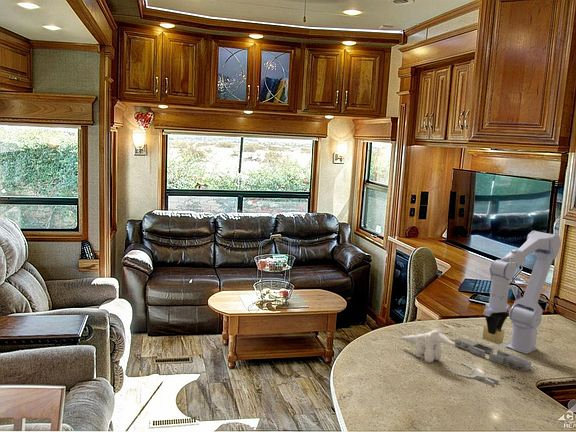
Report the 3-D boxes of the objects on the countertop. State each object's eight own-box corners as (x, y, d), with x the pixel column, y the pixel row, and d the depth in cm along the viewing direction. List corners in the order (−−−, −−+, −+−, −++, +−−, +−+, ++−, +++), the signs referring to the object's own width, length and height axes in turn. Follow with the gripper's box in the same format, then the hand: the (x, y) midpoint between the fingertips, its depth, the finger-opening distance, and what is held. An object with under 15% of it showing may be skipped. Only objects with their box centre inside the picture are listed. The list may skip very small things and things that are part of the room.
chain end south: (462, 342, 194) (463, 336, 194) (492, 353, 185) (493, 347, 185) (453, 346, 190) (453, 339, 190) (483, 357, 181) (484, 351, 181)
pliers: (463, 360, 174) (505, 377, 163) (462, 364, 175) (504, 382, 163) (445, 366, 168) (487, 384, 157) (445, 370, 168) (487, 389, 157)
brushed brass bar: (486, 337, 185) (488, 325, 184) (502, 342, 181) (504, 330, 180) (482, 338, 183) (483, 326, 183) (498, 344, 179) (500, 332, 178)
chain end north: (498, 355, 184) (498, 349, 184) (531, 368, 175) (532, 361, 175) (488, 359, 180) (489, 353, 179) (523, 372, 171) (524, 365, 170)
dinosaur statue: (447, 370, 166) (448, 336, 165) (390, 351, 185) (391, 320, 184) (460, 366, 170) (461, 333, 169) (403, 347, 189) (404, 317, 189)
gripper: (498, 289, 187) (493, 325, 189) (477, 294, 178) (472, 332, 180) (517, 294, 182) (512, 331, 184) (496, 300, 173) (491, 339, 174)
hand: (494, 332), depth 181 cm, fingers closed on brushed brass bar, 3 cm apart
